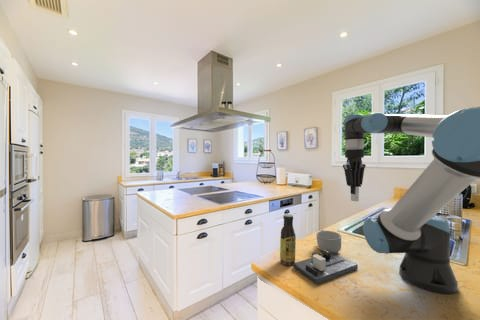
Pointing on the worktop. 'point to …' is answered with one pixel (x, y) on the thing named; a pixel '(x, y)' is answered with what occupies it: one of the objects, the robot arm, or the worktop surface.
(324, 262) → the fader
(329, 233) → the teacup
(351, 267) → the board
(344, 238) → the worktop surface
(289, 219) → the sauce bottle
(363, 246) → the worktop surface
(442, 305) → the worktop surface
